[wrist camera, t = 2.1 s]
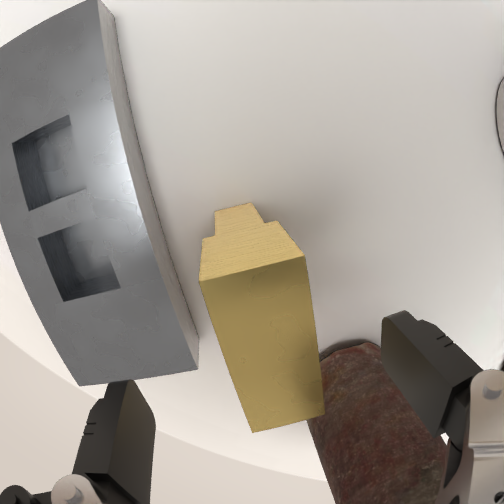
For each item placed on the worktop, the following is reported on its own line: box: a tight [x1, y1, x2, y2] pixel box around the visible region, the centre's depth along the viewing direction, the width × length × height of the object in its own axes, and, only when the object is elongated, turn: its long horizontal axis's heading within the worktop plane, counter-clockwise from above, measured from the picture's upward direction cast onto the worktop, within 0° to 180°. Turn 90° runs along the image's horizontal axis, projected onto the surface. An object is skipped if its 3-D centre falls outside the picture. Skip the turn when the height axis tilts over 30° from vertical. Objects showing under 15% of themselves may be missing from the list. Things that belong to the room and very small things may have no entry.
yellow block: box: [199, 203, 325, 433], centre depth 14 cm, size 3×7×8 cm, turn 12°
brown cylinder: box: [307, 342, 447, 504], centre depth 12 cm, size 8×7×20 cm
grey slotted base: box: [0, 0, 199, 386], centre depth 14 cm, size 8×20×3 cm, turn 12°
